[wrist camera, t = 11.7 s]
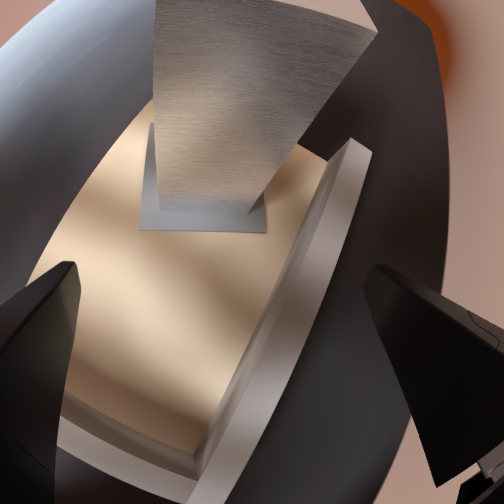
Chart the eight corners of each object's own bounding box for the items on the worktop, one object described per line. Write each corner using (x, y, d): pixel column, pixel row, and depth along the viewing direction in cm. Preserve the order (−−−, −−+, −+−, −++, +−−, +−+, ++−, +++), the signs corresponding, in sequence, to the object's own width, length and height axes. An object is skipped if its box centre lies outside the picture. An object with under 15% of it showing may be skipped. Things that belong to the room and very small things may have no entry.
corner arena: (206, 477, 13) (217, 514, 10) (2, 364, 12) (-35, 371, 8) (339, 180, 20) (372, 152, 16) (168, 90, 18) (171, 47, 14)
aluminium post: (246, 214, 16) (378, 32, 5) (159, 212, 15) (157, -11, 4) (243, 142, 17) (331, -41, 6) (165, 137, 16) (185, -68, 5)
